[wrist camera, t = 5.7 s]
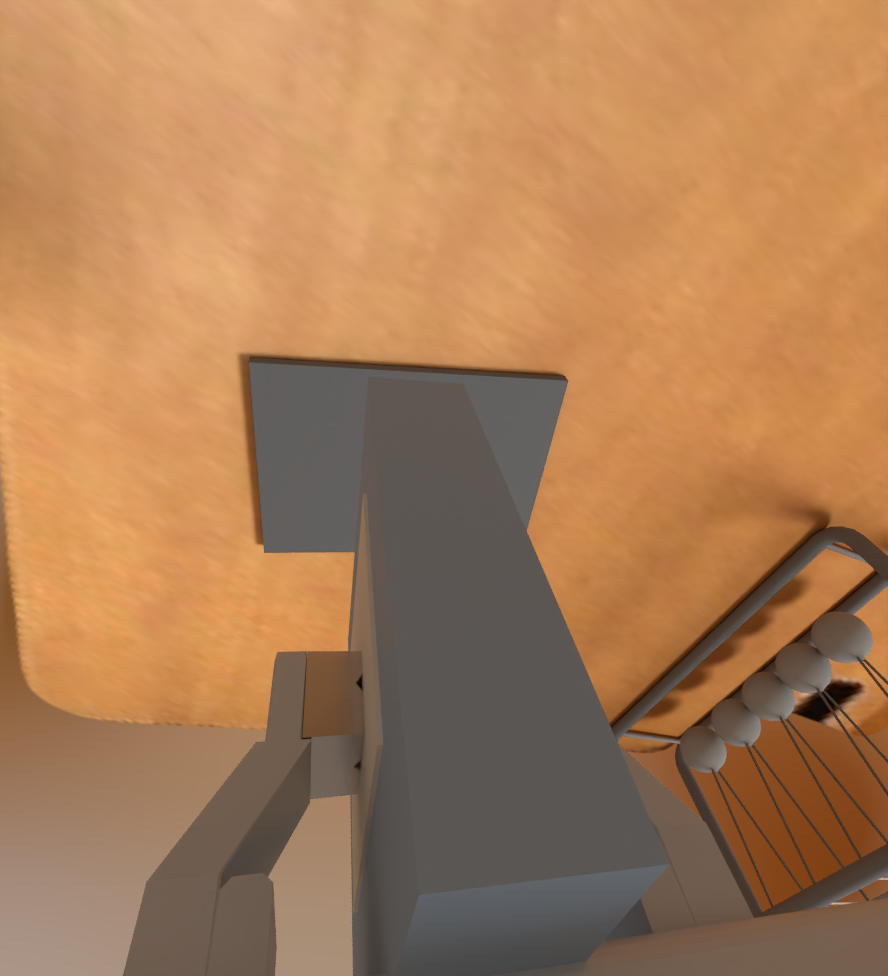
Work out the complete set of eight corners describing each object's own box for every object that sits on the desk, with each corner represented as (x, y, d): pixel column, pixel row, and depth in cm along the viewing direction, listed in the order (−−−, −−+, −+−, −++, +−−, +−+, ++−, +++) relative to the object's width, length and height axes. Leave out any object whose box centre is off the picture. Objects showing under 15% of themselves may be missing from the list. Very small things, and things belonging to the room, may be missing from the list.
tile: (345, 638, 16) (349, 1108, 8) (364, 376, 11) (408, 894, 4) (417, 636, 16) (481, 1083, 9) (463, 383, 12) (669, 864, 4)
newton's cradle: (673, 750, 57) (782, 968, 43) (594, 739, 53) (686, 975, 39) (916, 546, 43) (1200, 772, 29) (833, 511, 39) (1112, 753, 25)
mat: (250, 357, 26) (248, 362, 26) (564, 376, 29) (568, 380, 29) (265, 545, 33) (264, 552, 33) (518, 544, 36) (520, 550, 36)
